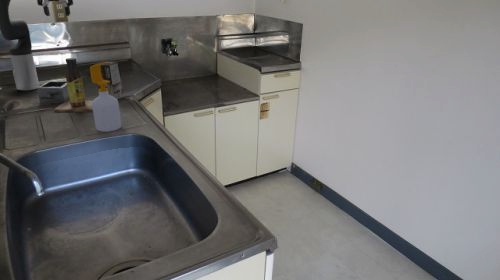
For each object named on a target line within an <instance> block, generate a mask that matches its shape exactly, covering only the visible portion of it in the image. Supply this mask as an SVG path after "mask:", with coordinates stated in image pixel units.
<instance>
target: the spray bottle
mask: <svg viewBox="0 0 500 280" xmlns="http://www.w3.org/2000/svg"><path fill="white" fill-rule="evenodd" d="M103 62H104V61H103ZM106 62H107V61H106ZM106 62H104V63H100V62H99V63H100V64H97V63H95V64H96V65H95V64H94V65H93V64H92V65H90V67H89V72H90V76H91V82H92V83H93V84H97V85H99V86H100V88H101V89H99V88H98V96H97V97H96V98H94V99H93V100H92V101H93V103H92V108H93V111H92V112H93V113H92V114H93V119H94V125H95V129H96V130H97V131H98V132H102V133H106V132H107V133H108V132H114V131H117V130H119V129H121V128H122V120H121V119H122V118H121V112H120V105H119V101H118V100H119V99H116V98H114V97H113V96H110V95H109V92H108V89H107V88H105V85H106V83H110V81H108V80H103V79H102V75H101V69H100V66H101V65H103V64H106ZM99 86H98V87H99Z"/></svg>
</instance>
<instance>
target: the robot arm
mask: <svg viewBox="0 0 500 280" xmlns="http://www.w3.org/2000/svg"><path fill="white" fill-rule="evenodd" d="M51 2H60V3H61V4H62V5H63V6H64V11H65V12H64V13H65V17H69V16H70V15H71V9H70V7H71V6H73V5H74V1H73V0H36V3H37V5H38V6H41V7H42V8H43V13H44V15H45V16H46V17H50V15H51V13H50V8H49V4H50V3H51ZM10 4H11V0H0V34H1V35H2V37H3V39H4V40H6V41H9V42H10V41H17V42H16V44H15V45H13V46H12V47H10V48H9V55H10V58H11V62H12V66H13V67H12V68H13V70H12V73H13V78H14V82H15V83H14V84H15V86H16V90H17V91H18V90H19V91H32V90H37V87H39V86H40V82H39V79H38V73H37V69H36V64H35V60H34V55H33V51H32V50H33V49H32V47H33V46H32V40H31V33H30V28H29V26H28V24H27V21H25V20H24V19H22V18H16V19H13V18H12V19H11V18H10V12H9V10H10V9H9V7H10Z"/></svg>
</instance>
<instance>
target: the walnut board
mask: <svg viewBox="0 0 500 280" xmlns="http://www.w3.org/2000/svg"><path fill="white" fill-rule="evenodd" d="M92 103H93V100H85V104H84V105H82V106H71V104H70V101H69V100H68V101H65V102H64V103H60V105H58V106H56V108H54V112H55V113H67V112H69V113H72V112H78V113H79V112H81V113H83V112H87V113H88V112H93V108H92Z"/></svg>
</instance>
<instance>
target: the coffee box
mask: <svg viewBox="0 0 500 280" xmlns="http://www.w3.org/2000/svg"><path fill="white" fill-rule="evenodd" d="M104 62H106V64H103V65H101V66H100V69H101V75H102V79H103V80H108V81H110V83H106V85H105V88H107V89H108V92H109V95H110V96H113V97H114V98H116V99H117V100H119V99H122V98H124V97H125V96H124V91H123V90H124V88H123V87H124V86H123V81H122V75H121V74H122V73H121V67H120V62H114V61H104V60H103V61H101V62H97V63H95V64H94V65H96V64H100V63H104ZM97 85H98V84H97ZM99 89H101V88H100V86H99V85H98V90H99Z"/></svg>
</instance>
